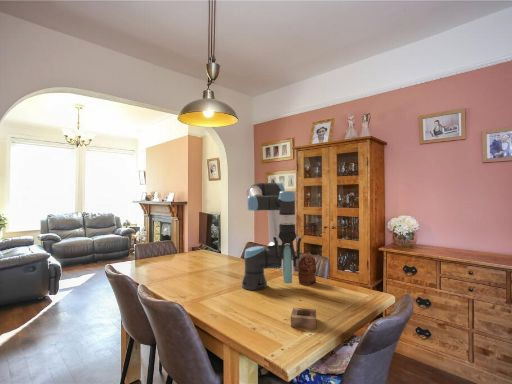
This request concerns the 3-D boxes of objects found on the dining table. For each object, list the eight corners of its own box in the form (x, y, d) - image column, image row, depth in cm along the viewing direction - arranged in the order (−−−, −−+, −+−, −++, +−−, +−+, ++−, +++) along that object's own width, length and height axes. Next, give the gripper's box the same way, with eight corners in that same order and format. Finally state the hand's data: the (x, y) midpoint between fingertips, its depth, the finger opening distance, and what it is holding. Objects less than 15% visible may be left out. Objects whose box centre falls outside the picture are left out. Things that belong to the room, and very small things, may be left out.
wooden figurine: (304, 286, 163) (304, 256, 164) (297, 283, 168) (296, 254, 169) (318, 282, 170) (317, 253, 170) (310, 280, 175) (310, 252, 175)
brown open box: (290, 326, 112) (290, 317, 112) (293, 316, 121) (293, 307, 121) (315, 329, 109) (315, 319, 109) (316, 318, 119) (316, 309, 119)
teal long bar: (283, 283, 127) (282, 244, 127) (284, 280, 131) (283, 243, 131) (291, 283, 126) (291, 245, 126) (292, 281, 130) (292, 243, 130)
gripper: (268, 224, 127) (268, 274, 127) (305, 224, 123) (305, 276, 123) (271, 222, 134) (271, 270, 134) (305, 223, 130) (306, 272, 130)
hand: (287, 273), depth 128 cm, fingers closed on teal long bar, 4 cm apart
